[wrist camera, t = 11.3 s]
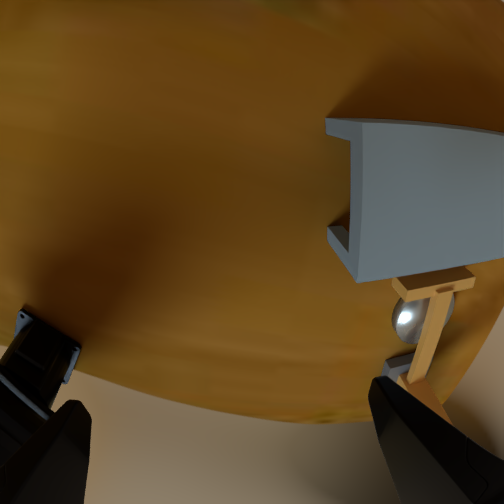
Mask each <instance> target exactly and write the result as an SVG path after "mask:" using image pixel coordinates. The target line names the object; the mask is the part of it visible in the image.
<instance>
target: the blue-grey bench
mask: <svg viewBox="0 0 504 504" xmlns="http://www.w3.org/2000/svg"><path fill="white" fill-rule="evenodd" d="M325 124H326V134H327V135H331V136H334V137H338V138H342V139H345V140H349V141H350V149H351V199H350V232H349V233H348V232H347V231H346V229H345V228H344V227H343V226H342V225H341V226H330V227H327V241H328V242H329V244H330V245H331V247H332V248H333V249H334V251H335V252H336V254H337V255H338V257H339V258H340V259H341V261H342V262H343V264H344V265H345V267H346V268H347V269H348V271H349V272H350V274H351V275H352V277H353V278H354V280H355V281H356V283H361V282H368V281H375V280H381V279H387V278H394V277H400V276H406V275H412V274H418V273H424V272H430V271H435V270H441V269H447V268H452V267H457V266H463V265H468V264H473V263H478V262H484V261H489V260H493V259H498V258H503V257H504V133H502V132H497V131H491V130H485V129H479V128H472V127H465V126H458V125H450V124H441V123H431V122H421V121H408V120H393V119H370V118H325Z"/></svg>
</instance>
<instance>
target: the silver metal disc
mask: <svg viewBox="0 0 504 504" xmlns="http://www.w3.org/2000/svg"><path fill="white" fill-rule="evenodd" d="M430 298H431V297H429V298H424V299H419V300H415V301H410V302H405V301H404V300H403V299H402V298H400V299H399V301H398V302H397V304H396V306H395V308H394V310H393V314H392V326H393V328H394V330H395V331H396V333H397V334H398V336H399V337H400V339H401V340H402V341H404V342H406V343H410V344H415V343H418V342H419V339H420V335H421V332H422V329H423V325H424V321H425V318H426V314H427V310H428V306H429V302H430ZM453 308H454V295H452V299H451V302H450V306H449V309H448V312H447V316H446V319H445V322H444V325H443V327H444V326H445V324H446V323H447V321H448V320H449V318H450V316H451V314H452V312H453Z"/></svg>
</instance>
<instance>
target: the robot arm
mask: <svg viewBox="0 0 504 504" xmlns="http://www.w3.org/2000/svg"><path fill="white" fill-rule="evenodd" d="M80 350H81V346H80V344H78V343H77V342H75V341H74V340H72V339H70V338H68V337H67V336H65V335H63V334H62V333H60V332H58V331H57V330H55V329H54V328H52V327H50V326H49V325H47V324H46V323H44V322H43V321H41V320H39V319H38V318H36V317H35V316H33V315H32V314H30V313H29V312H27V311H26V310H24V309H21V310H20V311H19V312H18V316H17V321H16V328H15V334H14V340H13V341H12V343H11V344H10V346H9V347H8V349H7V350H6V352H5V353H4V355H3V356H2V358H1V359H0V504H84V496H85V488H86V480H87V473H88V465H89V456H90V439H91V424H92V419H91V416H90V414H89V412H88V411H87V410H86V408H85V407H84V405H83V404H82V402H81V401H79V400H68V401H66V402H65V404H63V405H62V407H60V408H59V409H58V410H57V411H56V412H53V411H52V410H51V407H52V405H53V402H54V400H55V398H56V395H57V393H58V391H59V388H60V386H61V384H62V383H63V384H67V383H68V381H69V378H70V376H71V373H72V371H73V368H74V365H75V363H76V360H77V358H78V355H79V353H80ZM368 401H369V405H370V409H371V412H372V416H373V420H374V424H375V429H376V433H377V437H378V440H379V444H380V447H381V449H382V452H383V455H384V457H385V460H386V463H387V465H388V468H389V471H390V474H391V476H392V479H393V482H394V485H395V488H396V490H397V493H398V496H399V499H400V502H401V504H504V460H502V459H501V458H499V457H497V456H495V455H494V454H492V453H490V452H489V451H487V450H486V449H484V448H483V447H481V446H480V445H478V444H477V443H476V442H474V441H473V440H472V439H470V438H469V437H467V436H466V435H465V434H463V433H462V432H460V431H459V430H458V429H457V428H455V427H454V426H453V425H451V424H450V423H449V422H447V421H446V420H445V419H443V418H442V417H441V416H439V415H438V414H437V413H435V412H434V411H433V410H431V409H430V408H429V407H427V406H426V405H425V404H423V403H422V402H421V401H419V400H418V399H417V398H416V397H414V396H413V395H412V394H410V393H409V392H408V391H406V390H405V389H404V388H402V387H401V386H400V385H398V384H397V383H396V382H395V381H393V380H392V379H391V378H389V377H388V376H386V375H383V376H379V377H375V378H374V379H373V380H372V383H371V386H370V390H369V394H368Z"/></svg>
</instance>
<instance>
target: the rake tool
mask: <svg viewBox="0 0 504 504" xmlns="http://www.w3.org/2000/svg"><path fill="white" fill-rule="evenodd" d="M475 278H476V276H474V275H473V274H472V273H471V272H470V271H469V270H467V269H466V268H465V267H464V266H457V267H452V268H447V269H441V270H435V271H430V272H424V273H418V274H412V275H406V276H400V277H394V278H393V279H392V287H393V288H394V289H395V290H396V292H397V293H398V294H399V295H400V296H401V298H402V299H403V300H404V301H405V302H410V301H415V300H419V299H424V298H429V297H431V298H430V302H429V306H428V310H427V314H426V318H425V321H424V325H423V329H422V332H421V335H420V339H419V342H418V345H417V348H416V352H415V353H412V354H408V355H404V356H400V357H396V358H392V359H388V360H385V364H384V367H383V371H382V374H381V376H383V375H386V376H388V377H389V378H391V379H392V380H393V381H395V382H396V383H397V384H398V385H400V386H401V387H402V388H404V389H405V390H406V391H408V392H409V393H410V394H412V395H413V396H414V397H416V398H417V399H418V400H419V401H421V402H422V403H423V404H425V405H426V406H427V407H429V408H430V409H431V410H433V411H434V412H435V413H437V414H438V415H439V416H441V417H442V418H443V419H445V420H446V421H447V422H449V423H450V424H451V425H452V423H451V421H450V420H449V418H448V416H447V414H446V412H445V411H444V409H443V407H442V405H441V404H440V402H439V400H438V398H437V397H436V395H435V393H434V392H433V390H432V388H431V387H430V385H429V383H428V382H427V380H426V378H425V377H426V375H427V372H428V370H429V367H430V365H431V362H432V359H433V357H434V356H433V355H434V352H435V349H436V346H437V343H438V340H439V338H440V335H441V332H442V329H443V325H444V322H445V319H446V316H447V312H448V309H449V306H450V302H451V299H452V295H453V292H456V291H460V290H464V289H468V288H472V287H473V285H474V282H475Z"/></svg>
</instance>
